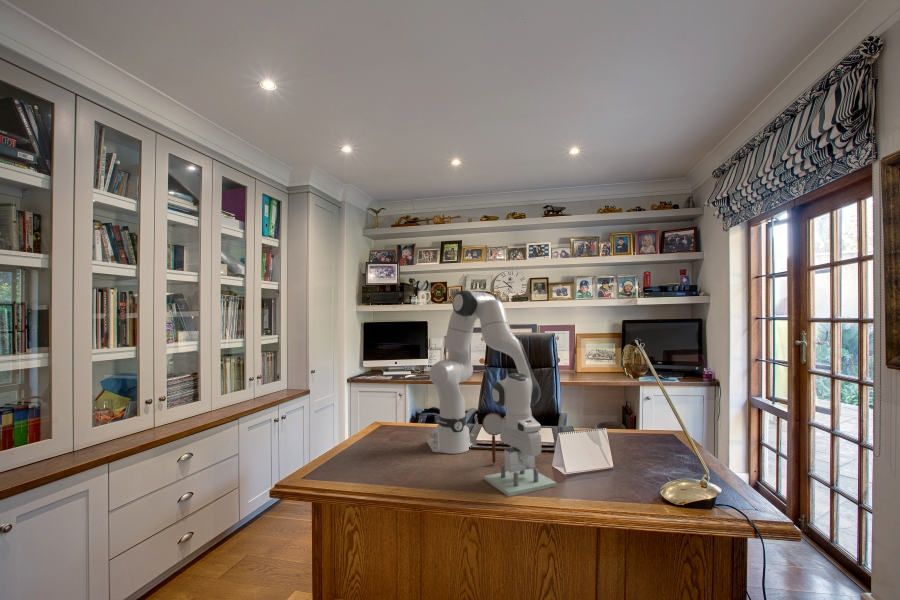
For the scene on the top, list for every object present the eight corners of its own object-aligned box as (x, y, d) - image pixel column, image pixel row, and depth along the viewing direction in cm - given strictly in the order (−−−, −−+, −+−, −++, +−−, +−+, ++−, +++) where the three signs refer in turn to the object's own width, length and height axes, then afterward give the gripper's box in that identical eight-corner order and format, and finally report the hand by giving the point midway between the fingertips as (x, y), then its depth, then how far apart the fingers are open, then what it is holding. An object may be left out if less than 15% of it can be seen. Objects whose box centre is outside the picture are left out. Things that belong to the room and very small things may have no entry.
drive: (505, 469, 144) (504, 448, 145) (529, 464, 148) (528, 444, 149) (510, 472, 141) (510, 451, 141) (535, 467, 145) (534, 447, 146)
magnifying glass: (482, 464, 163) (481, 412, 163) (483, 463, 164) (482, 411, 165) (504, 466, 160) (503, 413, 161) (505, 465, 162) (504, 412, 163)
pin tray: (484, 479, 148) (483, 464, 148) (528, 470, 156) (528, 456, 156) (508, 496, 133) (508, 480, 134) (556, 486, 141) (556, 470, 141)
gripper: (495, 416, 154) (496, 454, 153) (528, 428, 135) (529, 472, 134) (510, 414, 156) (511, 451, 156) (544, 426, 138) (545, 469, 137)
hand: (519, 461), depth 145 cm, fingers closed on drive, 3 cm apart
